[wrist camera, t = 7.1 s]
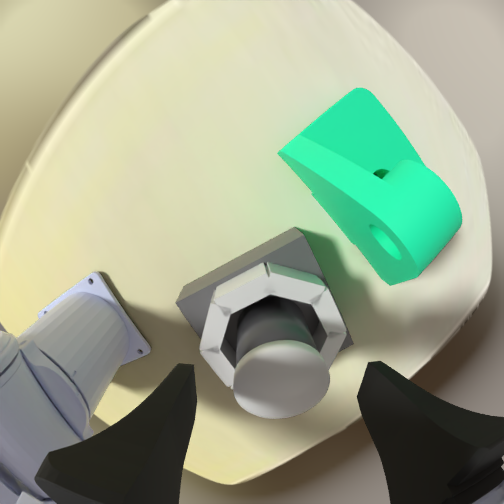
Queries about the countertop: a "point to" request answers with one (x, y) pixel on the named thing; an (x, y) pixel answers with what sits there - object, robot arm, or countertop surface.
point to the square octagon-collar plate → (255, 288)
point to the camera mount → (375, 186)
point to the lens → (277, 361)
